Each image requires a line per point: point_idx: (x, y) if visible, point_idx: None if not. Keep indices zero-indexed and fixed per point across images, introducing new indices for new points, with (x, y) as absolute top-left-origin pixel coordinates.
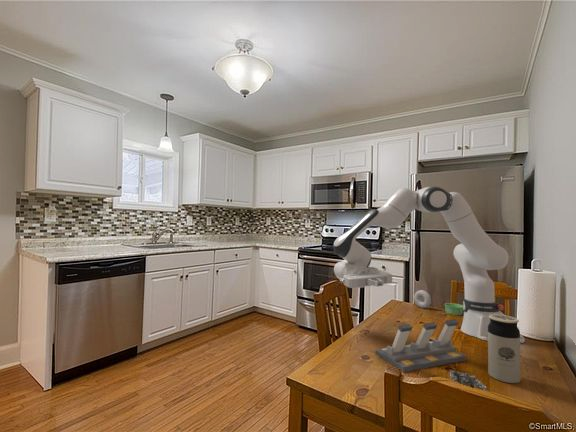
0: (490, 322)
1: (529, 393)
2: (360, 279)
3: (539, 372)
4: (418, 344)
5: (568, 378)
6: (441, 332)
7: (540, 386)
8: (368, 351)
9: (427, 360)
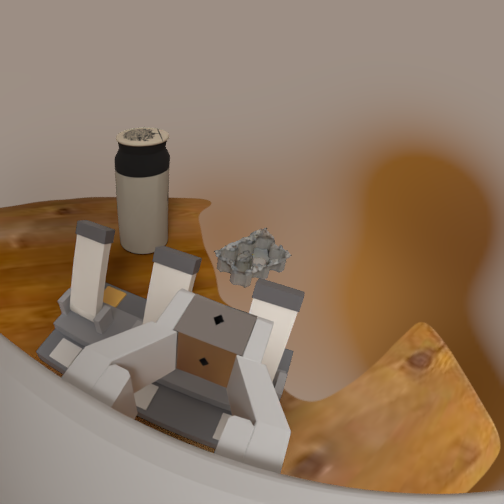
0: (146, 155)
1: (179, 219)
2: (410, 494)
3: (87, 215)
4: None
5: (88, 198)
6: (100, 280)
7: None
8: None
9: None
